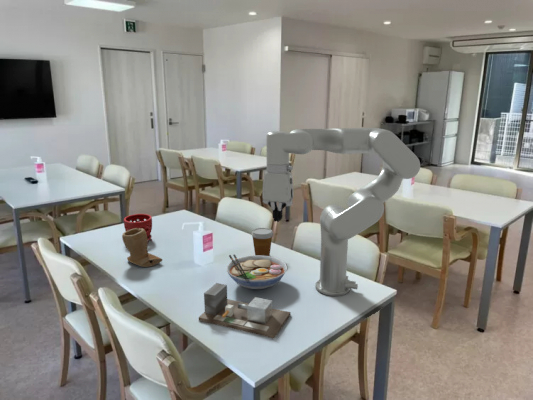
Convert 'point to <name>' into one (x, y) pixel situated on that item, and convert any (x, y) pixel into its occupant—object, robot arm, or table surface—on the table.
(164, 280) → the table surface
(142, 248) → the brown boot-shaped piece
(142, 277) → the table surface
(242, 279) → the ramen bowl
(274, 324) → the bench
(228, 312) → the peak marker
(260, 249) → the disposable coffee cup
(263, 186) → the robot arm
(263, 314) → the gauge plunger
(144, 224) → the plant pot
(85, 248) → the table surface
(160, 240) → the table surface
